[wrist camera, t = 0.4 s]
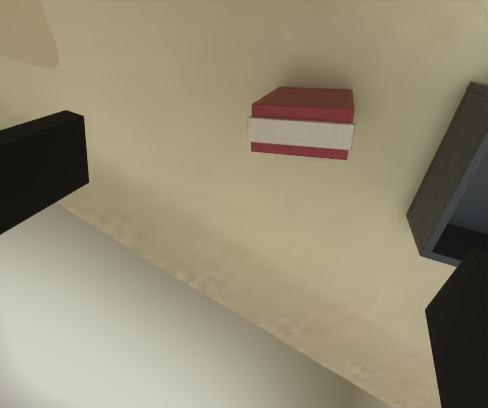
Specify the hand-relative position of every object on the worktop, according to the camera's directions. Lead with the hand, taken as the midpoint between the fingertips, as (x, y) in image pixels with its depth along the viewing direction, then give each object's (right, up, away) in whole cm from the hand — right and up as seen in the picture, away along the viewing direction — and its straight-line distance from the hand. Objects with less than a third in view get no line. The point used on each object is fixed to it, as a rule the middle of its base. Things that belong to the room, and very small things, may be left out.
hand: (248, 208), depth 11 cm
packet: (+8, +11, +26) cm, 30 cm away
